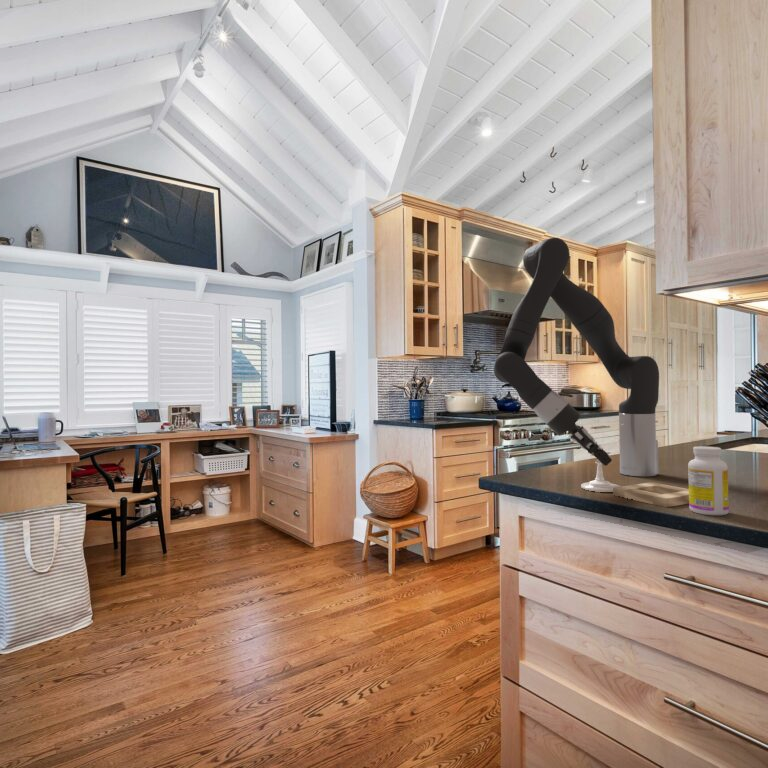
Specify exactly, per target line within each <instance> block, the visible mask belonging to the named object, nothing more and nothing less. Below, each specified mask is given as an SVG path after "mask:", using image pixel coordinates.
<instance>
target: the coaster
mask: <svg viewBox="0 0 768 768" xmlns="http://www.w3.org/2000/svg"><path fill="white" fill-rule="evenodd" d="M589 482H590V481H588V482H582V483H581V485H580V488H581V489H582V488H583V489H585V490H584V491H586V490H589V491H588V492H591V491H595V492H594V493H600V492H613V488H614V487H621V485H619V484H615V483H611V482H610V483H611V484H610V485H611V487H593V486H590V485H589V484H590V483H589ZM583 489H582V490H583Z"/></svg>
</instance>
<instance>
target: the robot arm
mask: <svg viewBox="0 0 768 768" xmlns="http://www.w3.org/2000/svg"><path fill="white" fill-rule="evenodd" d="M569 248H570V247H569V246H568V244H567V243H566V242H565V241H564V240H563V239H561V238H560V237H551V238H547V239H544V240H542V241H539V242H538V243H536V244H534V245H532V246H529V247H528V248H527V249H526V250H525V251H524V253H523V257H522V263H523V266H524V269H525V271H526V273H528V274H529V276H530V277H531V278H532V279H533V280H532V282H531V284H530V286H529V288H528V290H527V291H526V293H525V294H524V296H523V297H522V298H521V300H520V301H519V303H518V305H517V306H516V308H515V310H514V312H512V316H511V318H510V321H509V323H508V327H507V330H506V333H505V335H504V339H503V340H504V341H503V344H502V345H501V346H502V347H501V349H500V351H499V354H498V356H497V358H496V359H495V362H494V366H493V373H494V376H495V378H496V379H497V380H498V381H499V382H501V383H504V384H509V385H510V386H511V387H512V388H513V389H514V390H515V391H516V392H517V394H518V397H519V398H520V399H521V400H522V401H523V402H524V403H525V405H527V406H528V407H529V408H530V409H531V410H532V411H533V412H534V413H535V414H536V416H537V417H538V418H540V420H541V421H543V423H545V425H546V426H547V427H549V429H551V431H553V433H555V434H556V435H557V436H562V435H564V434H565V433H566V432H569V433H570V435H571V436H570V439H571V440H573V442H575V443H577V444H578V445H579V446H580V448H582V450H586V451H587V452H588V454H590V455H592V456H594V457H595V458H596V460H597V459H598V460H599V461H600V462H601V463H602V466H608V465H609V464H610V463H612V460H613V459H612V458H611V456H610V454H608V453H607V452H606V451H605V450H604V448H603V449H600V446H598V445H599V444H598V442H597V441H596V439H594V437H593V436H592V434H591V433H589V432H588V430H587V429H586V428H585V427H584V426H583V425H578V424H576V423H577V422H578V421H579V419H580V418H581V413H580V412H579V411H578V410H577V409H576V408H574V407H573V406H572V405H571V404H570V403H569V402H568V401H567V400H565V398H563V396H561V395H560V394H559V393H557V392H556V391H554V390H553V389H552V388H551V387H550V386H549V385H548V384H547V383H546V382H545V381H544V380H543V379H541V378H540V377H539V376H538V375H537V373H535V371H534V370H533V368H531V366H530V365H529V364H528V363H527V362H526V356H527V353H528V351H529V349H530V346H531V345H532V343H533V340H534V337H535V334H536V332H537V328H538V325H539V323H540V320H541V318H542V316H543V313H544V310H545V308H546V306H547V304H548V302H549V300H550V298H551V299H552V300H553V301H554V302H555V304H556V305H557V306H558V307H559V309H560V310H561V311H562V312H563V314H564V315H565V316H566V317H567V319H568V320H569V321H570V323H571V324H572V326H573V327H574V328H575V329H576V331H578V333H579V334H580V335H581V336H582V337H583V339H584V340H585V341H586V343H587V344H588V345H589V346H590V348H591V349H592V351H594V353H595V354H596V355H597V357H598V358H599V359H600V362H601V363H602V365H603V366H604V368H605V369H606V371H607V373H608V375H609V376H610V378H611V379H612V381H613V382H614V383H615V384H616V385H617V386H618V387H619V388H622V389H627V390H630V393H629V396H628V398H626V399H625V400H623V401H621V402H619V404H618V425H619V426H618V428H619V429H618V431H619V433H618V434H619V435H618V436H619V474H621V475H624V476H631V477H654V476H655V477H656V476H657V475H659V442H658V440H657V436H656V435H657V430H656V429H657V424H656V422H657V421H656V408H657V406H658V403H659V391H660V390H659V388H660V369H659V366H658V362H656V360H655V359H654V358H653V357H651V356H648V355H637V356H629V355H628V354H627V352H625V351H624V350H623V349H622V347H621V346H620V345H619V343H618V341H617V339H616V334H615V333H616V331H615V322H614V319H613V317H612V315H611V313H610V312H609V311H608V310H607V308H606V307H605V306H604V304H603V303H602V302H601V301H600V299H599V298H598V297H597V296H595V295H594V294H593V293H591V292H589V291H588V290H586V289H584V288H583V287H581V286H579V285H577V284H575V283H574V282H573V281H572V280H571V279H570V278H568V277H567V276H566V275H565V274H564V271H565V270H566V267H567V266H568V263H569V261H570V257H571V255H570V254H571V253H570V249H569Z"/></svg>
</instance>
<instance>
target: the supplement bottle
mask: <svg viewBox="0 0 768 768" xmlns="http://www.w3.org/2000/svg"><path fill="white" fill-rule="evenodd" d="M692 452H693V454H694V459H693V458H692V459H691V460H689V462H688V464H687V466H688V468H687V471H688V472H687V473H688V476H687V477H688V489H689V503H688V504H689V506H688V507H689V510H690V511H691V512H693V513H696V514H699V515H705V516H718V517H719V516H726V515H727V514H729V512H730V511H729V510H730V504H729V502H730V501H729V499H730V498H729V473H728V472H729V470H728V469H729V467H728V464H727V463H726V462H725V461H724V460H722V459H721V456H722V448H721V447H719V446H718V447H717V446H702V445H701V446H693V451H692Z"/></svg>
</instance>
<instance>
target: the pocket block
mask: <svg viewBox="0 0 768 768" xmlns="http://www.w3.org/2000/svg"><path fill="white" fill-rule="evenodd" d="M620 486H621V485H620ZM612 495H615V496H614V497H618V496H620V497H619V498H622V497H624V498H623V499H627V498H628V500H631V499H633V500H632V501H636V502H640V503H645V504H649V505H654V506H659V507H663V508H670V507H677V506H682V505H688V504H689V488H684V487H679V486H674V485H668V484H662V483H657V482H653V481H650V482H643V483H638V484H636V483H635V484H630V485H623V486H621V487H614V488H613V493H612Z"/></svg>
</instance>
